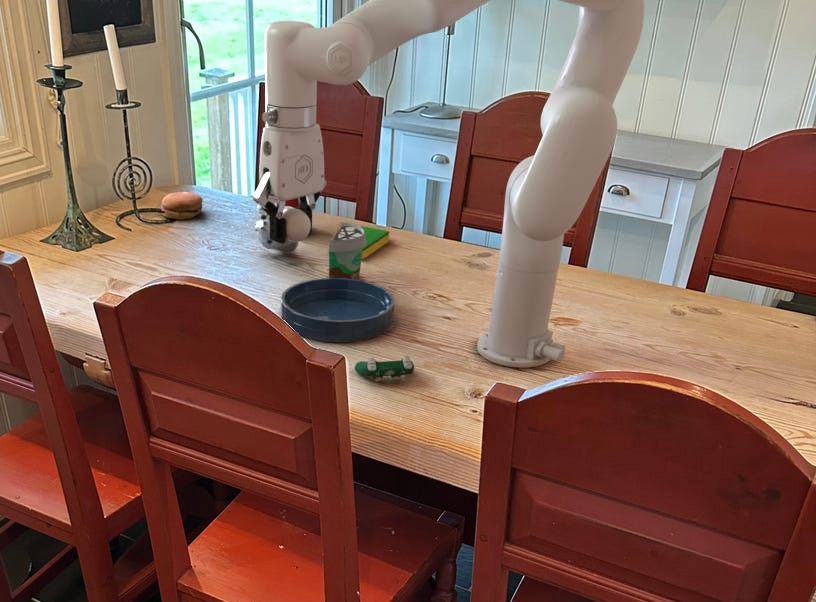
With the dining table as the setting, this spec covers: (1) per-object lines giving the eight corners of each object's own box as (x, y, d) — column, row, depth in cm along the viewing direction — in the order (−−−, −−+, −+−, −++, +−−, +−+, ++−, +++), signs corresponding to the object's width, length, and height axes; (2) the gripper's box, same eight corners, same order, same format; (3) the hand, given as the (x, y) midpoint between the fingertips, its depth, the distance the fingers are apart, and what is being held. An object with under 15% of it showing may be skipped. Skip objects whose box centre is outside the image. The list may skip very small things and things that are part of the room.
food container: (358, 295, 162) (361, 243, 157) (327, 291, 163) (328, 240, 158) (369, 272, 172) (372, 223, 167) (340, 269, 173) (341, 221, 168)
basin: (416, 320, 153) (417, 299, 151) (339, 354, 141) (340, 332, 139) (335, 289, 164) (335, 269, 162) (258, 318, 152) (257, 297, 150)
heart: (295, 266, 173) (298, 205, 168) (250, 261, 174) (252, 201, 169) (305, 258, 182) (308, 200, 177) (262, 254, 184) (264, 196, 179)
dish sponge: (332, 254, 181) (333, 243, 180) (360, 236, 191) (361, 225, 190) (362, 260, 178) (363, 248, 177) (389, 241, 189) (390, 230, 187)
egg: (317, 241, 136) (317, 210, 133) (294, 248, 133) (294, 216, 130) (287, 230, 140) (287, 200, 137) (264, 237, 137) (264, 206, 134)
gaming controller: (355, 387, 135) (362, 376, 129) (353, 364, 136) (359, 352, 130) (411, 384, 137) (420, 372, 131) (409, 361, 137) (417, 349, 131)
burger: (166, 221, 196) (164, 201, 194) (158, 210, 203) (156, 190, 201) (208, 218, 199) (207, 198, 197) (198, 207, 206) (197, 187, 204)
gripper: (264, 128, 118) (266, 255, 129) (348, 113, 129) (344, 232, 139) (230, 119, 123) (235, 243, 133) (314, 105, 133) (312, 221, 143)
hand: (290, 236), depth 136 cm, fingers closed on egg, 5 cm apart
